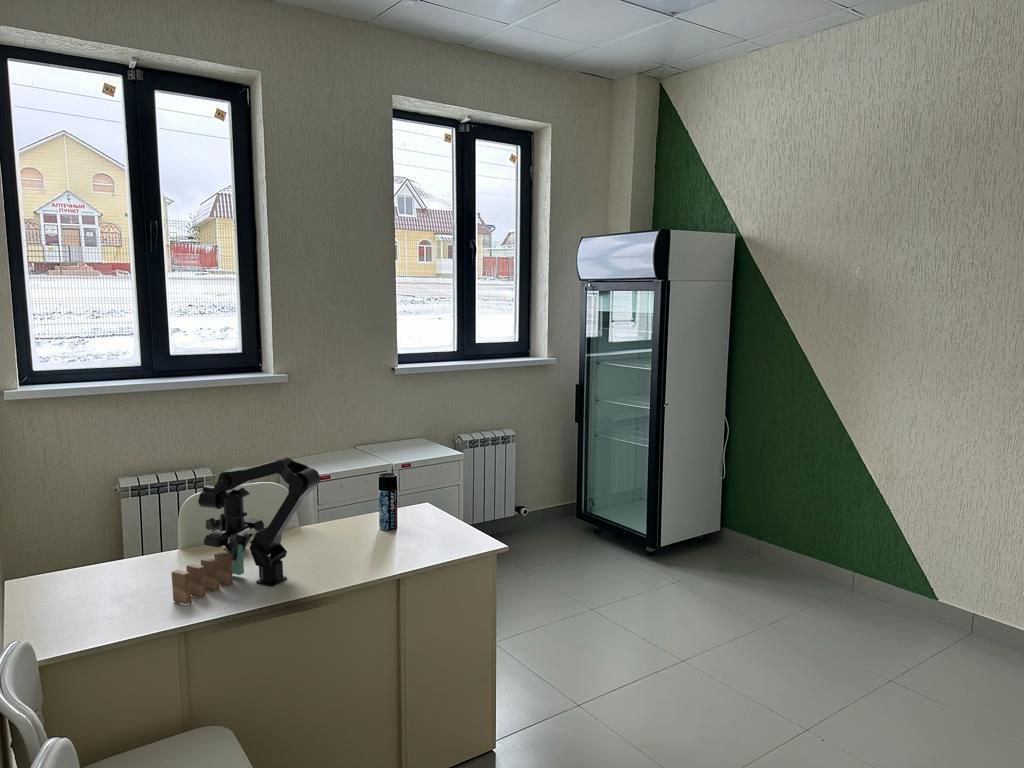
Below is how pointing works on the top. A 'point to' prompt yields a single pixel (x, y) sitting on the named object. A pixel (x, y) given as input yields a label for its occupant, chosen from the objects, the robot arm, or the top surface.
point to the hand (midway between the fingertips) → (236, 559)
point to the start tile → (238, 561)
